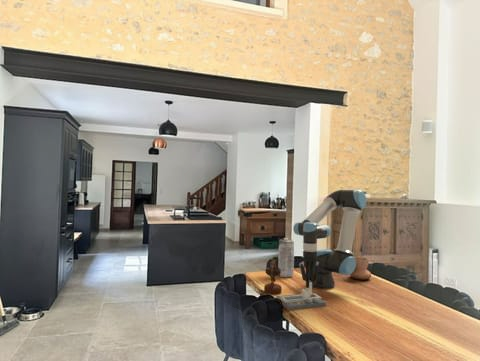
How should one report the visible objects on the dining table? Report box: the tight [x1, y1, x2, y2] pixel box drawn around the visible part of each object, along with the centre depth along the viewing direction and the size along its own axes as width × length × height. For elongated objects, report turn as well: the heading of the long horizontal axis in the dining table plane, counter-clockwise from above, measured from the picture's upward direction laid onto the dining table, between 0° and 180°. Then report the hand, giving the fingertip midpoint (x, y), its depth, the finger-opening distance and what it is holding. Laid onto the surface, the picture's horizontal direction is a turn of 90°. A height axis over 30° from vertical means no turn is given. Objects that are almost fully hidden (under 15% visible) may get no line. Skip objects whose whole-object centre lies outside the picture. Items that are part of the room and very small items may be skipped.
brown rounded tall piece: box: [263, 258, 283, 296], centre depth 191 cm, size 15×11×20 cm
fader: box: [300, 288, 310, 298], centre depth 173 cm, size 3×4×5 cm
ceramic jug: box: [349, 256, 372, 281], centre depth 222 cm, size 18×14×14 cm
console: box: [275, 292, 327, 311], centre depth 172 cm, size 22×16×4 cm
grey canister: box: [277, 237, 295, 278], centre depth 226 cm, size 9×10×27 cm
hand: (309, 293), depth 173 cm, fingers closed
